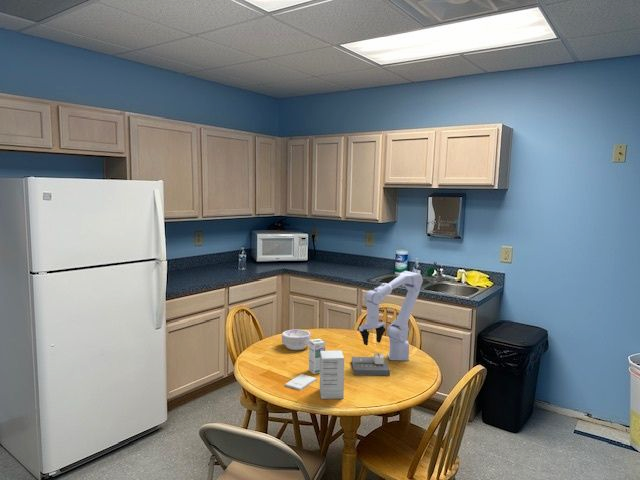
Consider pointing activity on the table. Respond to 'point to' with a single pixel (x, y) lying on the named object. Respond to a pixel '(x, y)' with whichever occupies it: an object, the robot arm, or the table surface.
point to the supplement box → (331, 374)
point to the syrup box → (315, 354)
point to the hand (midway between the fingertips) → (372, 343)
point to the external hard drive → (300, 382)
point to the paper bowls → (296, 339)
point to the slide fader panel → (369, 366)
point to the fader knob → (378, 359)
